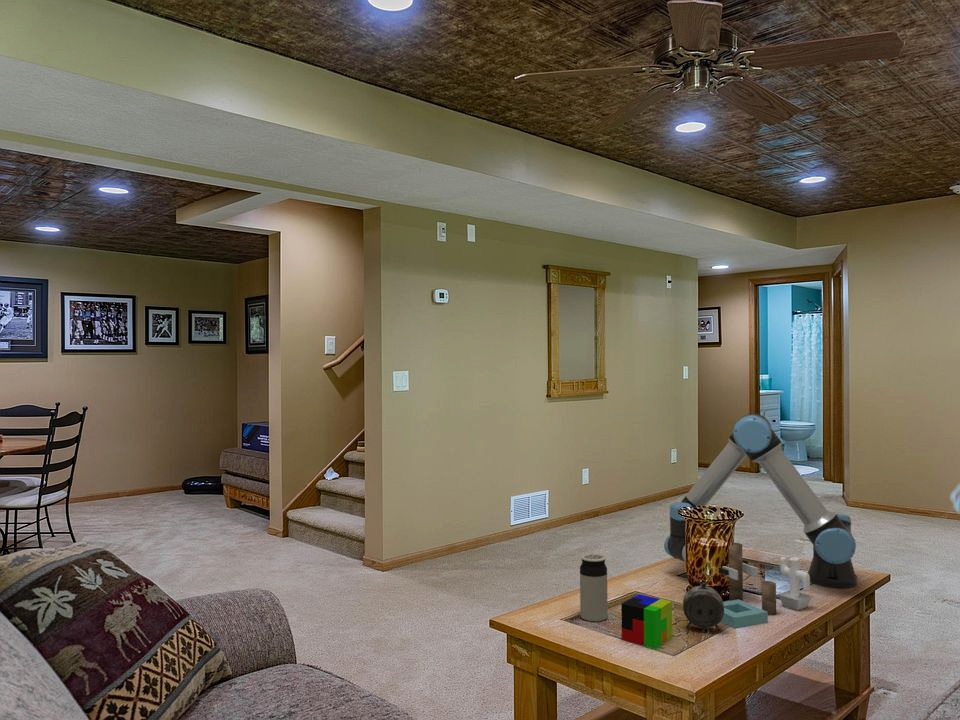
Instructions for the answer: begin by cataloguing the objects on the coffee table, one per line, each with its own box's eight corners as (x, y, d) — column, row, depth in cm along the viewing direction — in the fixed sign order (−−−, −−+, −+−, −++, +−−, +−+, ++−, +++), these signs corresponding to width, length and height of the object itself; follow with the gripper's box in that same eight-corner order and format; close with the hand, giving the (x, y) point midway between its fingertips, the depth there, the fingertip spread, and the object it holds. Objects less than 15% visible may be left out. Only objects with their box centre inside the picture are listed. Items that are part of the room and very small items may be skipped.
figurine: (801, 613, 217) (801, 563, 217) (774, 604, 225) (773, 556, 225) (816, 609, 221) (815, 559, 221) (788, 600, 229) (788, 552, 229)
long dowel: (736, 598, 231) (736, 542, 231) (745, 602, 228) (745, 545, 228) (726, 600, 230) (726, 543, 230) (735, 604, 226) (734, 546, 226)
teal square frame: (739, 609, 222) (739, 599, 222) (767, 622, 211) (767, 612, 211) (706, 614, 217) (706, 604, 217) (734, 628, 206) (734, 617, 206)
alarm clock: (723, 628, 206) (723, 571, 206) (724, 635, 201) (724, 576, 201) (683, 625, 209) (682, 568, 209) (683, 632, 204) (682, 574, 204)
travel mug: (610, 621, 212) (609, 560, 212) (583, 622, 212) (582, 560, 212) (604, 612, 220) (603, 552, 220) (578, 613, 220) (577, 553, 220)
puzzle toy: (638, 629, 206) (638, 594, 206) (672, 637, 200) (671, 601, 200) (621, 640, 199) (621, 603, 199) (655, 649, 192) (655, 611, 192)
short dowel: (769, 610, 221) (769, 580, 221) (779, 614, 217) (779, 584, 217) (759, 611, 220) (758, 581, 220) (768, 616, 216) (768, 585, 216)
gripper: (723, 563, 249) (772, 582, 228) (674, 570, 242) (721, 590, 221) (722, 541, 249) (772, 558, 228) (674, 547, 242) (720, 565, 221)
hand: (746, 574), depth 224 cm, fingers open, 7 cm apart
